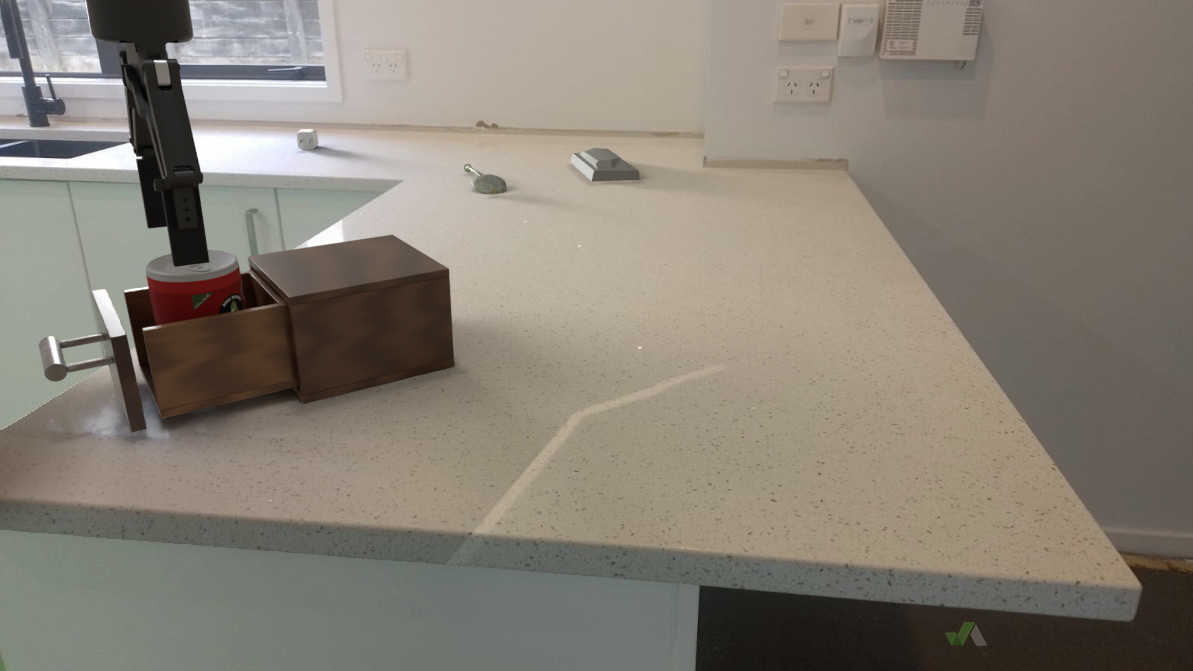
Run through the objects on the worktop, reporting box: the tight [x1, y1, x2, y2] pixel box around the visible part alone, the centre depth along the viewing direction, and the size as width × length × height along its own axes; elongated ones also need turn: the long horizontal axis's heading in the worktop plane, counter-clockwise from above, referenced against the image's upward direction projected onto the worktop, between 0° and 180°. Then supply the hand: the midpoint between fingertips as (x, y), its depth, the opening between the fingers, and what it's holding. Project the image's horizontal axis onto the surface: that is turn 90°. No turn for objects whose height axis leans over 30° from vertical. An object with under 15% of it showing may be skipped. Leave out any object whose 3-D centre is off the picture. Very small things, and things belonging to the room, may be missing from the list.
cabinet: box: [247, 234, 455, 404], centre depth 86 cm, size 16×15×11 cm
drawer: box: [38, 269, 299, 434], centre depth 77 cm, size 20×13×9 cm
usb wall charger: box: [295, 128, 319, 150], centre depth 199 cm, size 4×7×4 cm, turn 7°
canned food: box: [145, 249, 246, 326], centre depth 78 cm, size 8×8×11 cm
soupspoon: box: [462, 163, 507, 195], centre depth 168 cm, size 22×3×7 cm
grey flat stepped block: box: [569, 147, 641, 182], centre depth 180 cm, size 10×20×4 cm, turn 14°
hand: (176, 244), depth 76 cm, fingers open, 13 cm apart
